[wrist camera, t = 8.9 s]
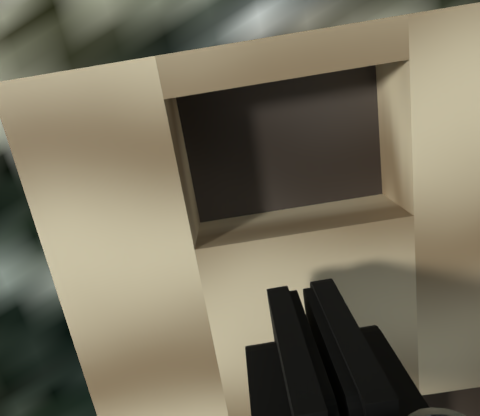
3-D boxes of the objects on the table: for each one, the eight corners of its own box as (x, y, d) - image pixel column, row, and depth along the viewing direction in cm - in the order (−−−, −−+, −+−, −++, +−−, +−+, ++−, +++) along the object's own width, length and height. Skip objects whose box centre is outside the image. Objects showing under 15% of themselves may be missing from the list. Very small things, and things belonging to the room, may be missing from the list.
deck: (37, 84, 12) (-54, 83, 8) (751, -34, 11) (1013, -94, 8) (154, 484, 16) (131, 603, 13) (664, 410, 16) (801, 510, 12)
